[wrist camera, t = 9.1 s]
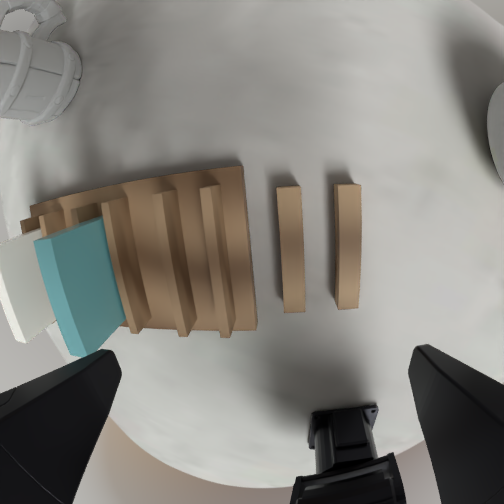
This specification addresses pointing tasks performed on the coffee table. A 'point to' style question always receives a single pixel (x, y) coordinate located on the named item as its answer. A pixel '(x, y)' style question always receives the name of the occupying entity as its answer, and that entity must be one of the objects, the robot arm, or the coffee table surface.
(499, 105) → the teacup
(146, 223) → the rack
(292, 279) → the wooden slats
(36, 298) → the cream plate
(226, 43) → the coffee table surface
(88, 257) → the teal rectangular prism
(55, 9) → the mug
